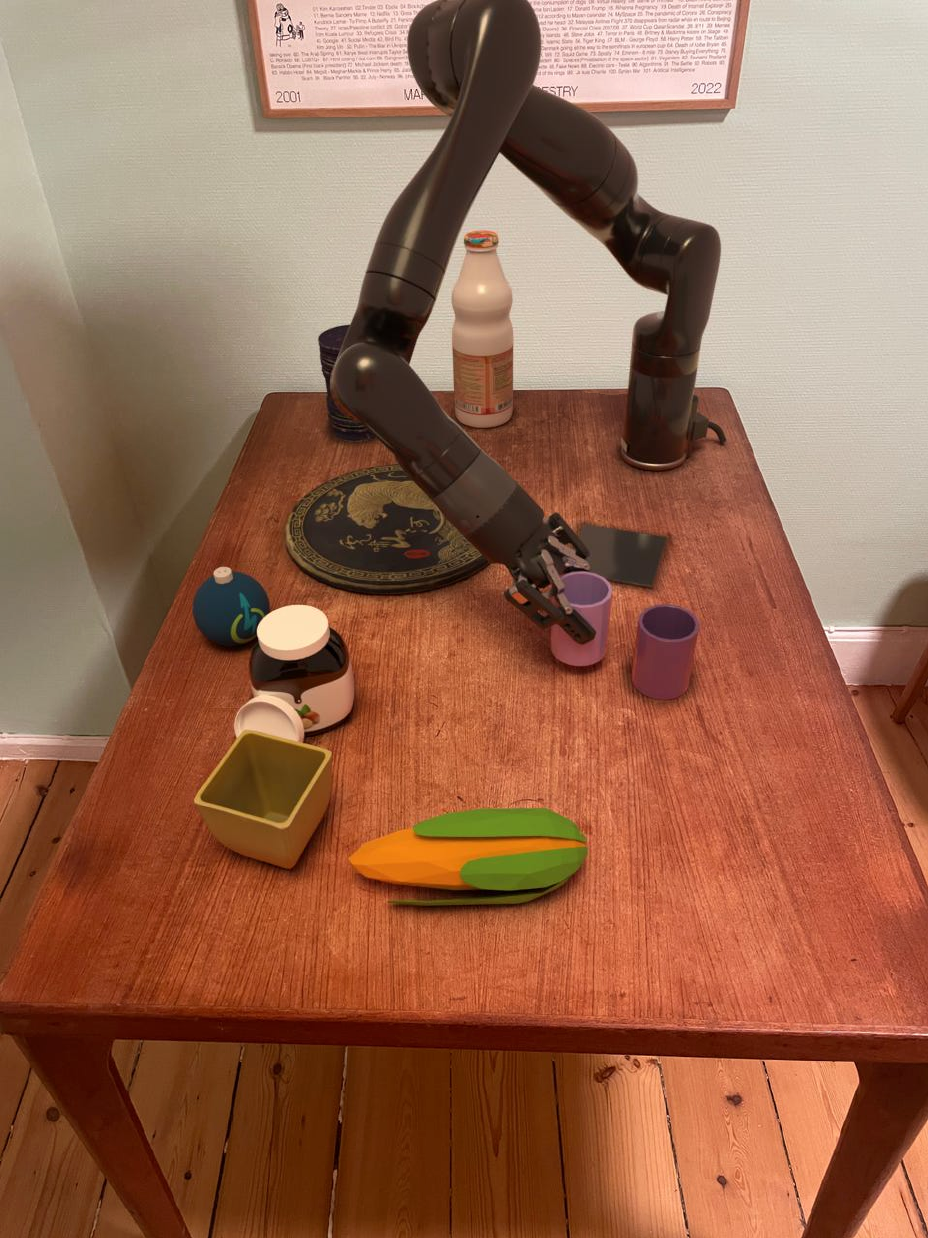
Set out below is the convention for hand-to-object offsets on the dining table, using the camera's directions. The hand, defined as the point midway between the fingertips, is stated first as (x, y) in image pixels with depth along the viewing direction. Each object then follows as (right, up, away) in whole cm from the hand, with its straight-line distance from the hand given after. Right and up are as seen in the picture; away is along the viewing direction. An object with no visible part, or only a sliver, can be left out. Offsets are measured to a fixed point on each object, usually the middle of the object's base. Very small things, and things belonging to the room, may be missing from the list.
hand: (596, 619), depth 93 cm
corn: (-13, -23, -17) cm, 31 cm away
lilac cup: (-1, -3, +3) cm, 5 cm away
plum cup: (+7, -6, +2) cm, 10 cm away
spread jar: (-31, -11, -2) cm, 33 cm away
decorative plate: (-23, +12, +26) cm, 37 cm away
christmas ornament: (-40, -2, +10) cm, 41 cm away
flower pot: (-30, -20, -13) cm, 39 cm away
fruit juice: (-11, +33, +51) cm, 62 cm away
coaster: (+5, +8, +20) cm, 22 cm away
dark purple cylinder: (-30, +30, +49) cm, 65 cm away
